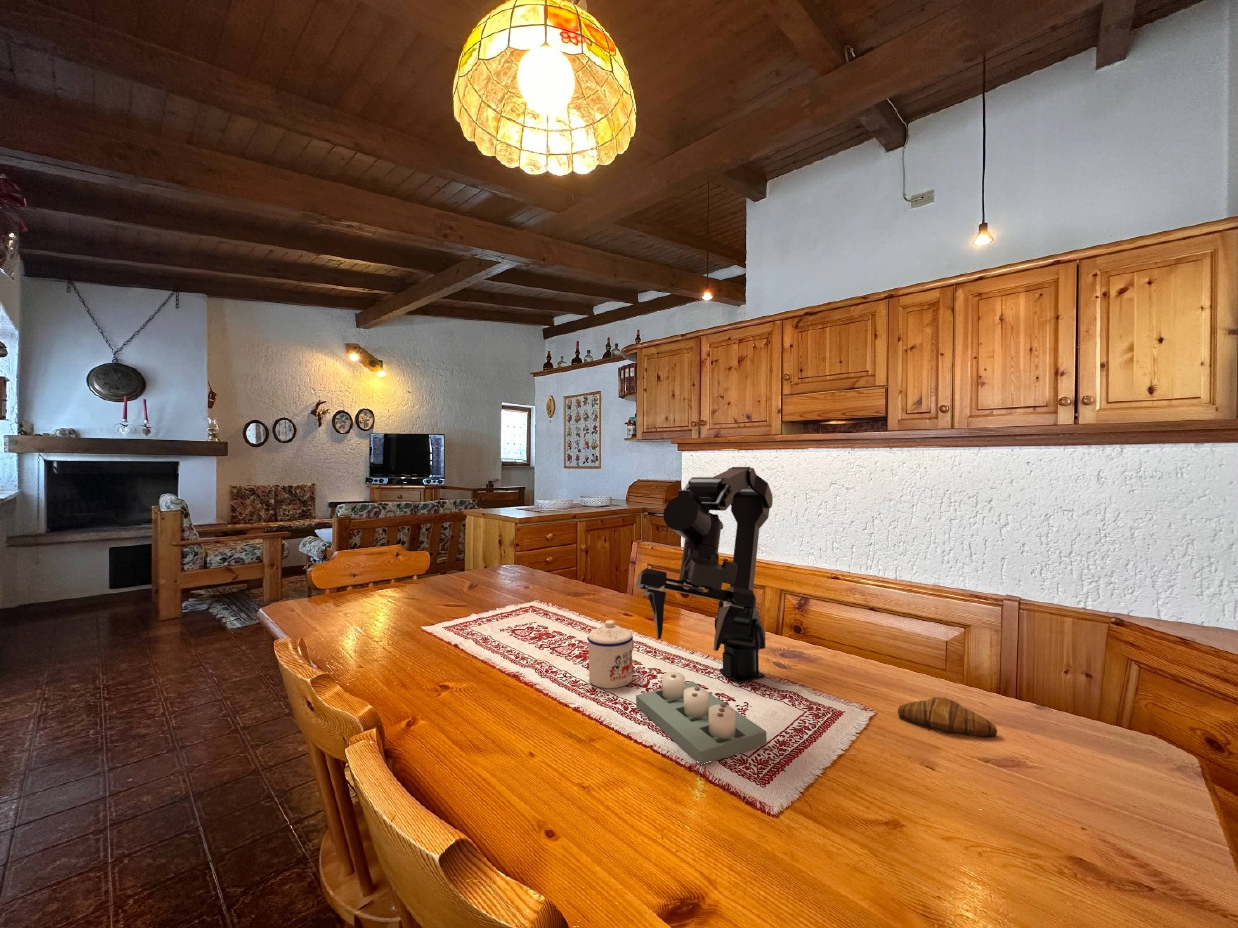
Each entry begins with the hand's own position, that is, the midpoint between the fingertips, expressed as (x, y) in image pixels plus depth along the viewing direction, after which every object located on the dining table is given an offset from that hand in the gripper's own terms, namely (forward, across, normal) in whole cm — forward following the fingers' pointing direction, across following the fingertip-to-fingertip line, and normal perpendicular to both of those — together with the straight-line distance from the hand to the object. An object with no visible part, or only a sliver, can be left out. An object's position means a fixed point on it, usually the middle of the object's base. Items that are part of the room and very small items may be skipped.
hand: (687, 644), depth 81 cm
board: (+12, +5, +8) cm, 15 cm away
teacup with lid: (+8, -7, +28) cm, 30 cm away
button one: (+8, +2, +14) cm, 16 cm away
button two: (+10, +5, +8) cm, 13 cm away
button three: (+11, +7, +1) cm, 14 cm away
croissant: (+5, +44, +2) cm, 44 cm away
